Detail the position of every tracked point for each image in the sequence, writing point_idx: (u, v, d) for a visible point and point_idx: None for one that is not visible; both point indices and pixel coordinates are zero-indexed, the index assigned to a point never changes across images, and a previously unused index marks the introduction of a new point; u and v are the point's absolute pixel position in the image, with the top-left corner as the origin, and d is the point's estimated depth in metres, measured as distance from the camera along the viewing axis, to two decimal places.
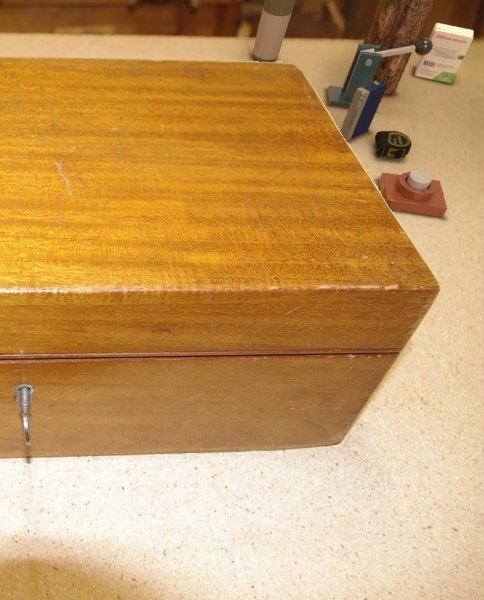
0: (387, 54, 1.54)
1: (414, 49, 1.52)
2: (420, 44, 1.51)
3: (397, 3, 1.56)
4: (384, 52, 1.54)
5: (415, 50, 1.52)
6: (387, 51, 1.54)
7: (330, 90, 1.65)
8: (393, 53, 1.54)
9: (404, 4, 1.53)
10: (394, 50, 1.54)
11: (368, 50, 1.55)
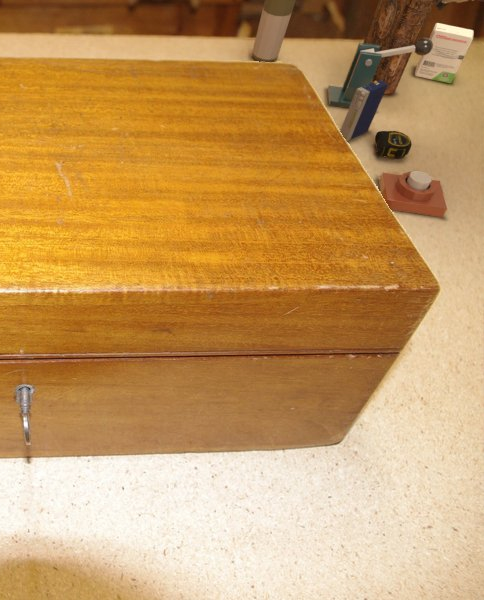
0: (387, 54, 1.54)
1: (414, 49, 1.52)
2: (420, 44, 1.51)
3: (397, 3, 1.56)
4: (384, 52, 1.54)
5: (415, 50, 1.52)
6: (387, 51, 1.54)
7: (330, 90, 1.65)
8: (393, 53, 1.54)
9: (404, 4, 1.53)
10: (394, 50, 1.54)
11: (368, 50, 1.55)
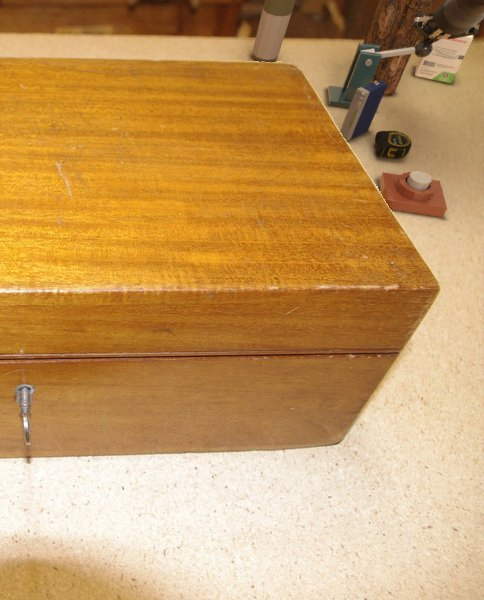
0: (387, 55, 1.54)
1: (414, 51, 1.52)
2: (420, 46, 1.51)
3: (397, 3, 1.56)
4: (384, 53, 1.54)
5: (415, 52, 1.52)
6: (387, 52, 1.54)
7: (330, 90, 1.65)
8: (393, 54, 1.54)
9: (404, 4, 1.53)
10: (394, 51, 1.54)
11: (368, 50, 1.55)
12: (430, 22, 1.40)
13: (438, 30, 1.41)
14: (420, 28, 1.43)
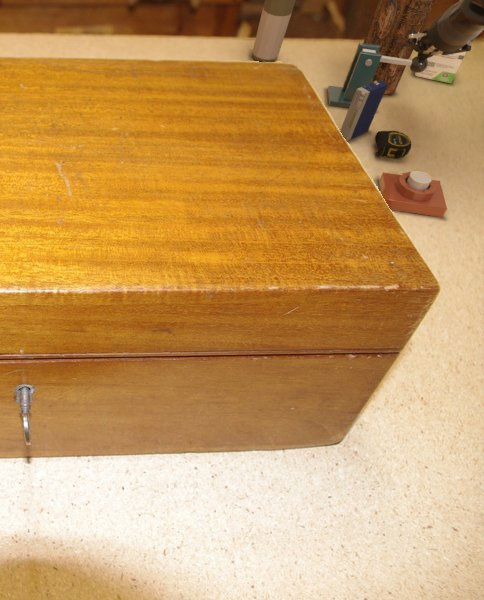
0: (386, 60, 1.55)
1: (410, 64, 1.54)
2: (418, 60, 1.53)
3: (397, 3, 1.56)
4: (384, 57, 1.55)
5: (411, 65, 1.54)
6: (386, 57, 1.55)
7: (330, 90, 1.65)
8: (391, 61, 1.55)
9: (404, 4, 1.53)
10: (393, 58, 1.55)
11: (370, 50, 1.55)
12: (424, 39, 1.43)
13: (432, 47, 1.44)
14: (414, 44, 1.46)
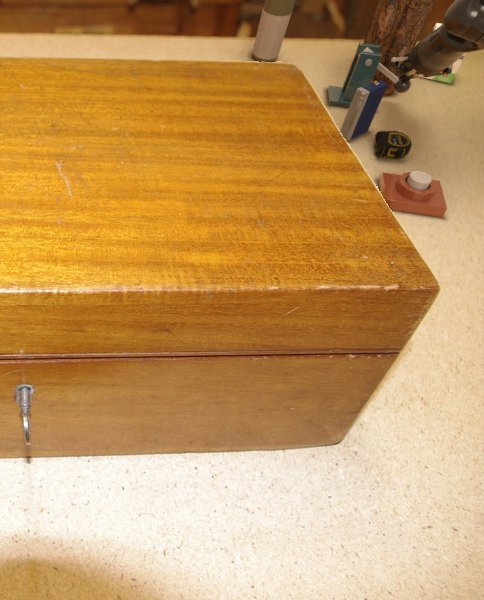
0: (380, 68, 1.57)
1: (397, 81, 1.58)
2: (405, 81, 1.57)
3: (397, 3, 1.56)
4: (380, 64, 1.56)
5: (397, 83, 1.58)
6: (382, 65, 1.57)
7: (330, 90, 1.65)
8: (383, 71, 1.57)
9: (404, 4, 1.53)
10: (386, 69, 1.57)
11: (372, 52, 1.56)
12: (406, 62, 1.47)
13: (413, 70, 1.48)
14: (397, 67, 1.50)
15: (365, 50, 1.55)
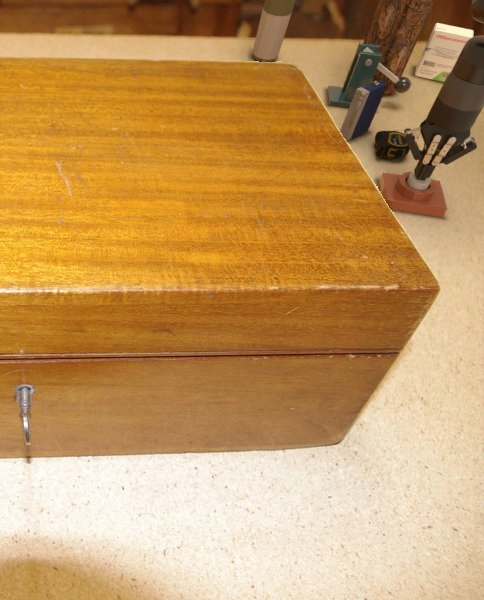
0: (380, 68, 1.57)
1: (397, 81, 1.58)
2: (405, 81, 1.57)
3: (397, 3, 1.56)
4: (380, 64, 1.56)
5: (397, 83, 1.58)
6: (382, 65, 1.57)
7: (330, 90, 1.65)
8: (383, 71, 1.57)
9: (404, 4, 1.53)
10: (386, 69, 1.57)
11: (372, 52, 1.56)
12: (425, 128, 1.28)
13: (435, 138, 1.27)
14: (413, 142, 1.30)
15: (365, 50, 1.55)
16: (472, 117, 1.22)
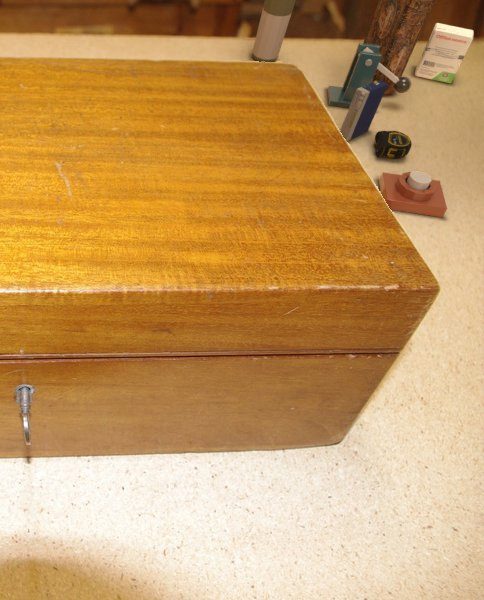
0: (380, 68, 1.57)
1: (397, 81, 1.58)
2: (405, 81, 1.57)
3: (397, 3, 1.56)
4: (380, 64, 1.56)
5: (397, 83, 1.58)
6: (382, 65, 1.57)
7: (330, 90, 1.65)
8: (383, 71, 1.57)
9: (404, 4, 1.53)
10: (386, 69, 1.57)
11: (372, 52, 1.56)
12: None
13: None
14: None
15: (365, 50, 1.55)
16: None
